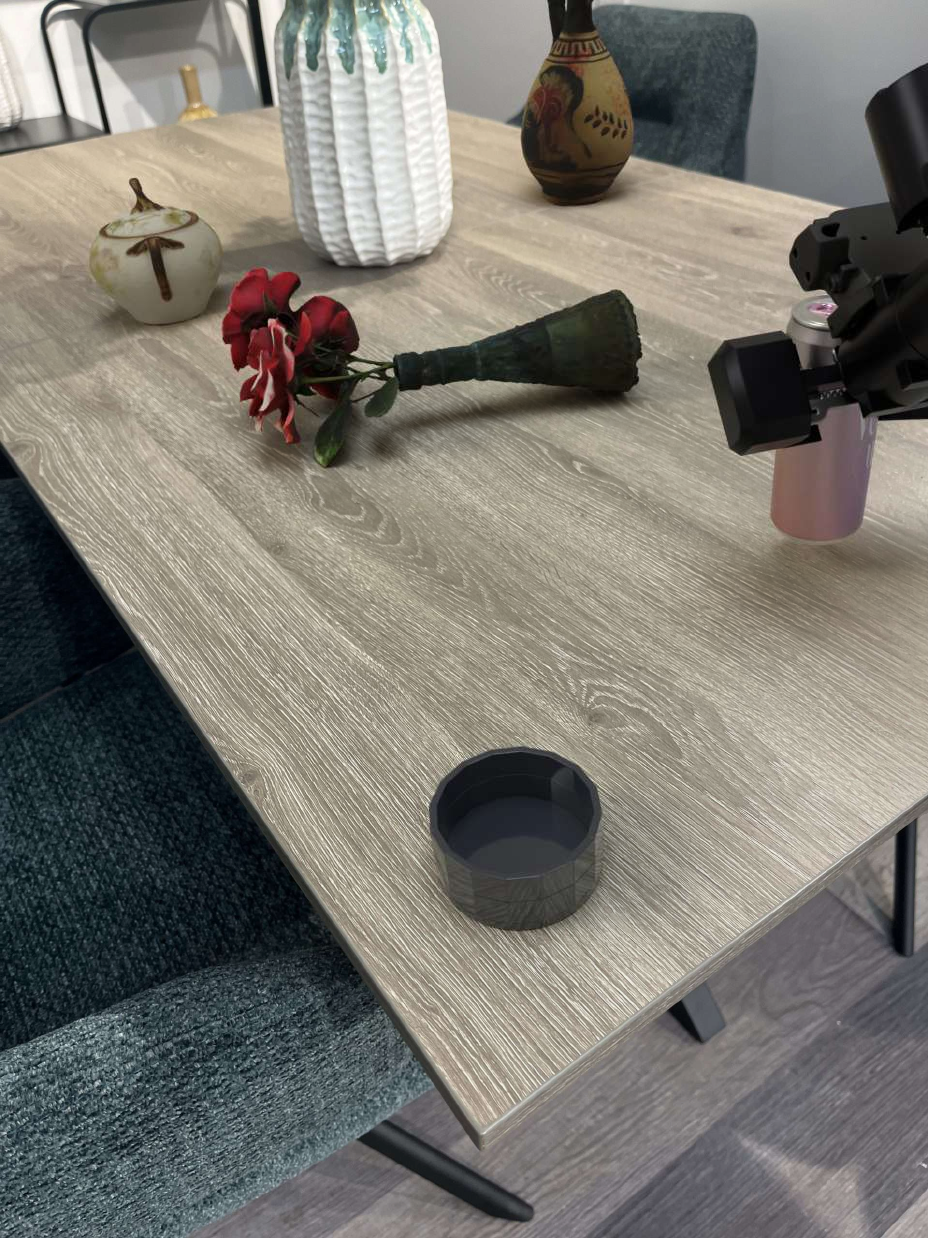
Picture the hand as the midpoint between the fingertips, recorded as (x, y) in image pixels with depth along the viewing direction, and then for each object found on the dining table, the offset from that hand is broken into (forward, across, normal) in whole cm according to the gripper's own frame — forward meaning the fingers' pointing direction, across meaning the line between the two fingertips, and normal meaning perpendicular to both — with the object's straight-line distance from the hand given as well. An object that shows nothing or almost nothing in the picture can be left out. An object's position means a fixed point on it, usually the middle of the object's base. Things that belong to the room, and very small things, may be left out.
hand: (815, 421), depth 65 cm
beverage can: (+4, 0, +6) cm, 7 cm away
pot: (-8, +26, +22) cm, 35 cm away
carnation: (+29, +20, -15) cm, 38 cm away
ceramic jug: (+70, -12, -58) cm, 91 cm away
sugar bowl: (+55, +45, -42) cm, 83 cm away
